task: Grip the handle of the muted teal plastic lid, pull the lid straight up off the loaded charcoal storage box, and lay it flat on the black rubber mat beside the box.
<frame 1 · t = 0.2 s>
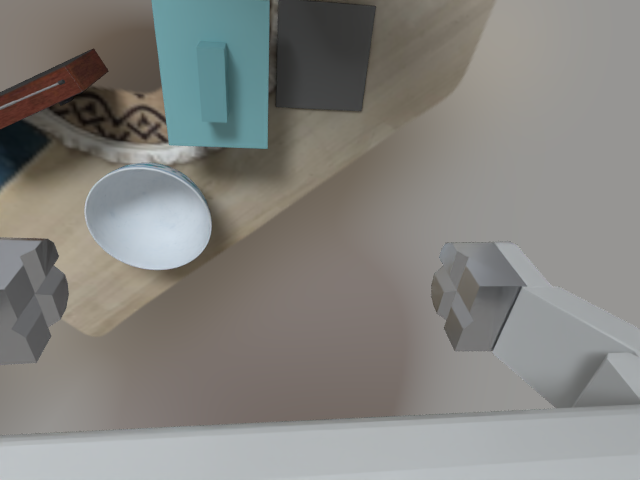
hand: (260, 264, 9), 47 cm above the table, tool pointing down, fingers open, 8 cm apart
lid: (217, 72, 46), point 5 cm above the table, touching storage box
mat: (323, 58, 51), on the table
radio: (50, 85, 50), on the table
chinaware: (162, 192, 60), on the table
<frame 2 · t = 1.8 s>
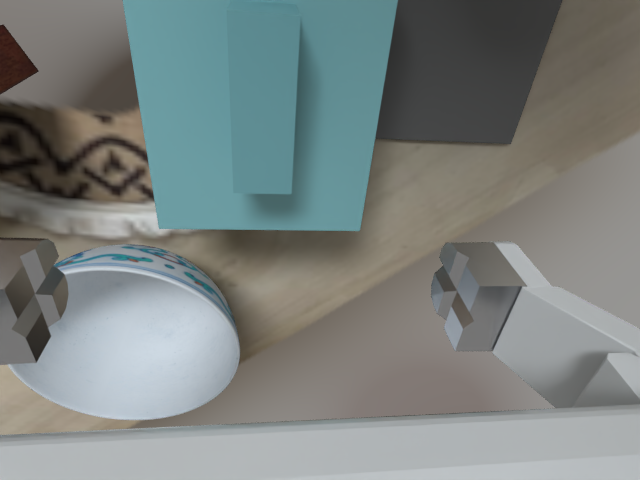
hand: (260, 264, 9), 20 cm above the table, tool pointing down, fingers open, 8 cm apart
lid: (263, 75, 21), point 5 cm above the table, touching storage box
mat: (458, 47, 27), on the table
chinaware: (151, 278, 35), on the table
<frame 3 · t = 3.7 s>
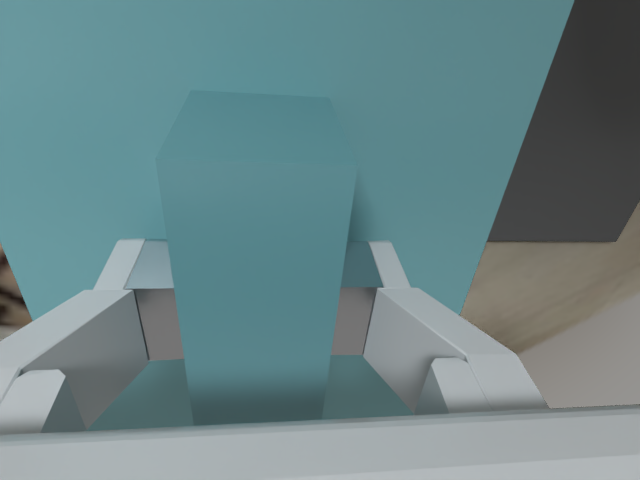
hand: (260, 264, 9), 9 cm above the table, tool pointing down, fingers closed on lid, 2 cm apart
lid: (261, 193, 12), point 5 cm above the table, touching gripper, storage box
mat: (557, 114, 17), on the table
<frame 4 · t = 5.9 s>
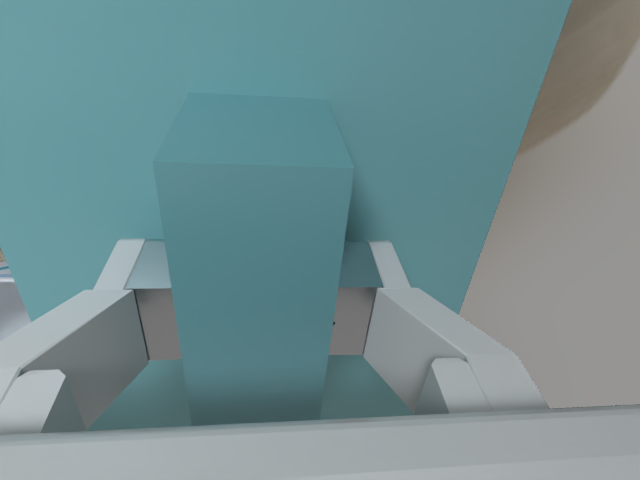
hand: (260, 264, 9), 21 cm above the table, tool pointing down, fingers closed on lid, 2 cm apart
lid: (260, 194, 12), point 18 cm above the table, touching gripper
chinaware: (81, 288, 35), on the table
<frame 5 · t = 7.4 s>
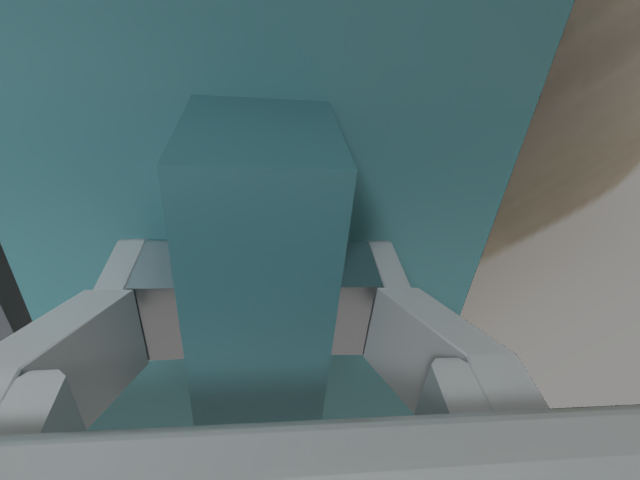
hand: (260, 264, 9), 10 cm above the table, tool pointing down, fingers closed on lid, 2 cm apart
lid: (261, 196, 12), point 6 cm above the table, touching gripper
when the fingers open (5 cm above the table, at t = 8.6 s): lid drops 1 cm, resting on mat.
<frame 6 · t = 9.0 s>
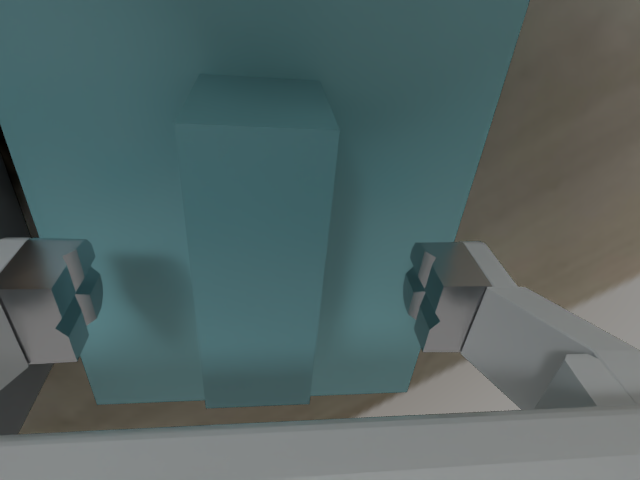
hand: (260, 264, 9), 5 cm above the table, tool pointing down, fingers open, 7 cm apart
lid: (261, 173, 13), resting on mat
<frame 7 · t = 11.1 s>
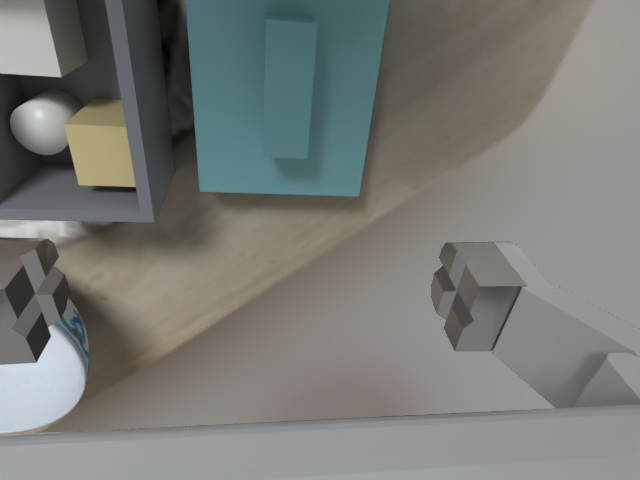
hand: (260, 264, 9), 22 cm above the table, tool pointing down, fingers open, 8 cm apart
storage box: (89, 72, 26), on the table
lid: (284, 70, 27), resting on mat
chinaware: (20, 292, 35), on the table
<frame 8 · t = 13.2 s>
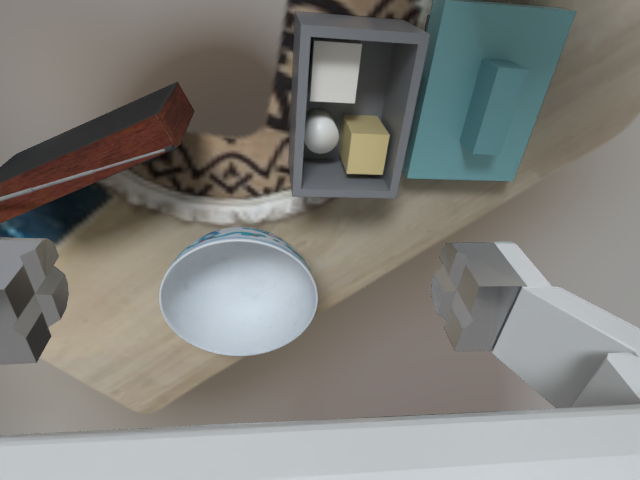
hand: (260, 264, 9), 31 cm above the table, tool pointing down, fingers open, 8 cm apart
storage box: (341, 96, 38), on the table
lid: (471, 93, 39), resting on mat
radio: (116, 128, 38), on the table
chinaware: (243, 255, 47), on the table
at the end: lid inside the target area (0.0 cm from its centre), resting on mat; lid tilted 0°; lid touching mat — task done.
